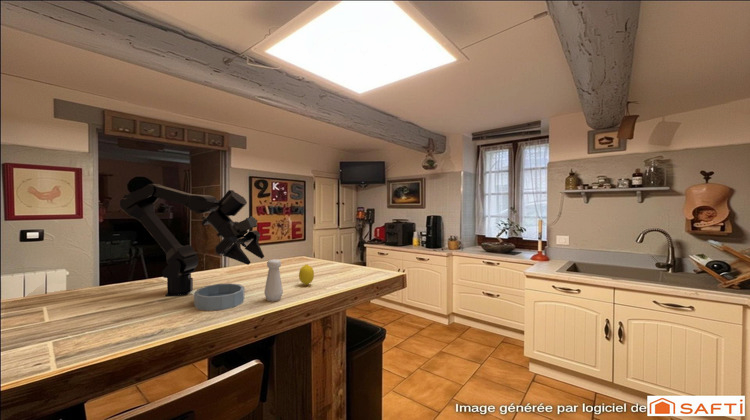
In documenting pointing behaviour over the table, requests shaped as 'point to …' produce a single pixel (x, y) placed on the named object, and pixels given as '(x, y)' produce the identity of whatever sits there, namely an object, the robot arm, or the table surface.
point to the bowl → (219, 297)
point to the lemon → (306, 274)
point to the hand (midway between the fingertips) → (256, 260)
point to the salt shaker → (273, 281)
